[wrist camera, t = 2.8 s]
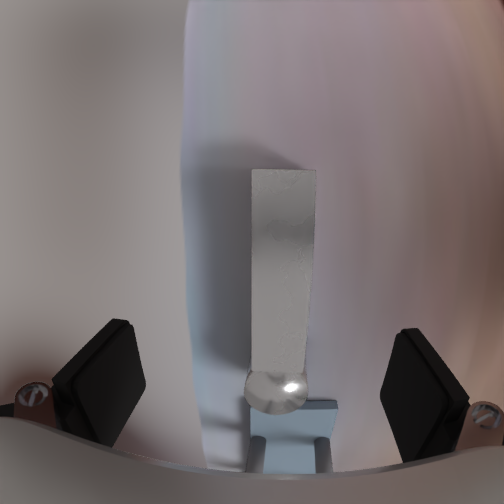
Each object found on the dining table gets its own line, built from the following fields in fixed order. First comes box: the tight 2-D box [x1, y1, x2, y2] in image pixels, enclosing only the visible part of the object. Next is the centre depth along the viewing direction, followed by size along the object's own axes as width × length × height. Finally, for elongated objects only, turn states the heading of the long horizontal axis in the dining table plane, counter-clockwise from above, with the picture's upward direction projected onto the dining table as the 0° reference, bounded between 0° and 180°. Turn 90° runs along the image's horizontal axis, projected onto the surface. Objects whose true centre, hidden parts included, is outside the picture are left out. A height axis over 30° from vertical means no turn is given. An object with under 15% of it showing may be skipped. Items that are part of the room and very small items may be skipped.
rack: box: [245, 401, 338, 474], centre depth 24 cm, size 18×8×7 cm, turn 0°
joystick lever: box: [244, 169, 316, 415], centre depth 20 cm, size 17×5×4 cm, turn 0°
